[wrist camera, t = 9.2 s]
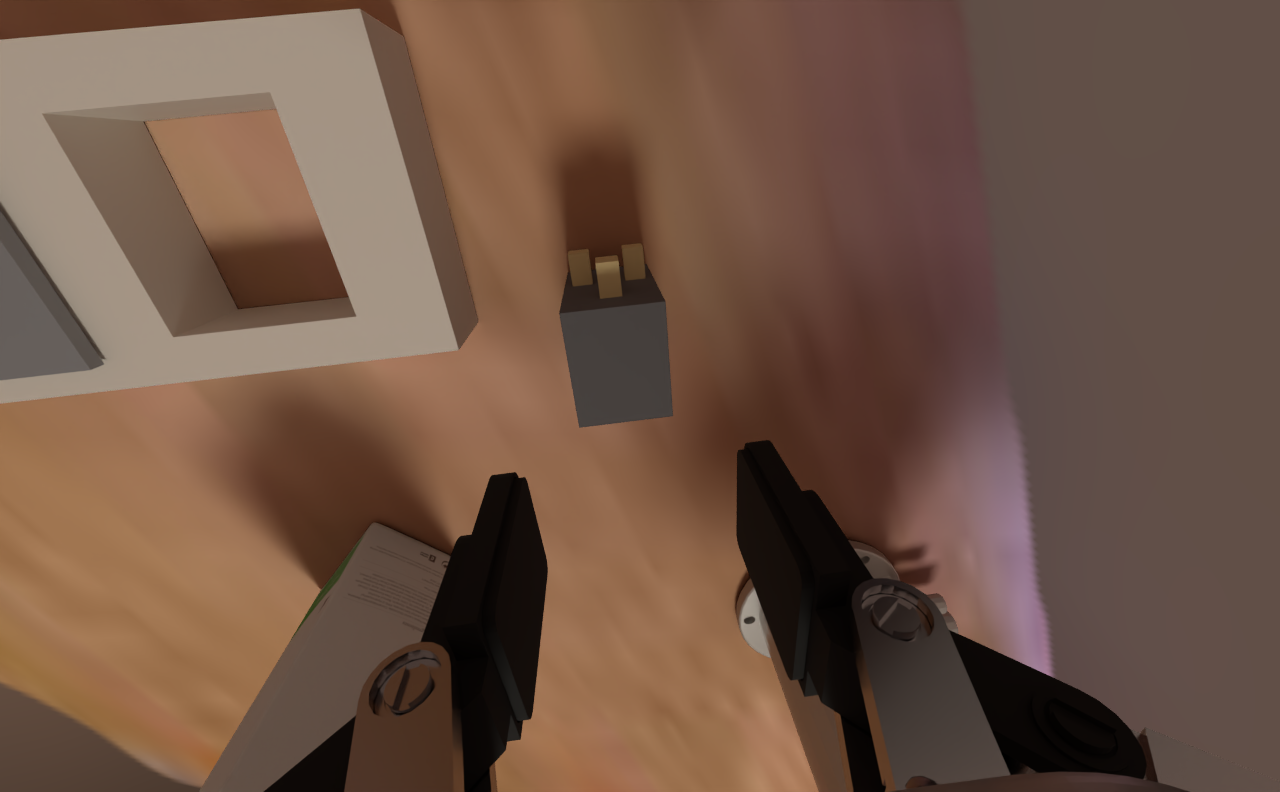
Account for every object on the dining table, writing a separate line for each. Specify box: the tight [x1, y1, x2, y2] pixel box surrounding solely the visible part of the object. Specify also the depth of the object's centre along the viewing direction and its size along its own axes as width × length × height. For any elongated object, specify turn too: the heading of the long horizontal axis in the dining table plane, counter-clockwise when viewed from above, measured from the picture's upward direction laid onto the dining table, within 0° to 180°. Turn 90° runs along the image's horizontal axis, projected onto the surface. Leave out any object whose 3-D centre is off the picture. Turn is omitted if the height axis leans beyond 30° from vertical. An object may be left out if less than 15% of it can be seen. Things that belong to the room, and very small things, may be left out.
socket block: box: [0, 9, 478, 403], centre depth 19 cm, size 20×12×4 cm, turn 95°
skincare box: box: [199, 523, 451, 792], centre depth 25 cm, size 8×7×16 cm
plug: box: [559, 243, 673, 428], centre depth 21 cm, size 4×6×7 cm, turn 5°
